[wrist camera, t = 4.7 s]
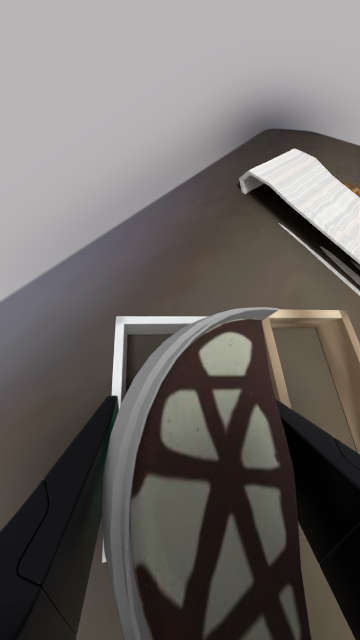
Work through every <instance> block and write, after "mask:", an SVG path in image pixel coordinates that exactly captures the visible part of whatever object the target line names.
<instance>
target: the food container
mask: <svg viewBox="0 0 360 640" xmlns="http://www.w3.org/2000/svg"><path fill="white" fill-rule="evenodd" d="M278 310H279V309H278V308H266V307H260V308H241V309H232V310H229V311H225V312H222V313H218V314H215V315H212V316H209V317H206V318H203V319H200V320H198V321H196V322H194V323H192V324H190V325H187V326H185V327H183V328H182V329H180V330H179V331H178V332H176V333H175V334H173V335H172V336H171V337H169V338H168V339H166V340H165V341H164V342H163V343H162V344H161V345H160V346H159V347H158V348H157V349H156V350H155V351H154V352H153V353H152V355H151V356H150V357H149V358H148V359H147V361H146V362H145V364H144V365H143V366H142V368H141V369H140V371H139V372H138V373H137V375H136V376H135V378H134V380H133V382H132V384H131V386H130V388H129V389H128V391H127V393H126V395H125V397H124V399H123V401H122V403H121V406H120V409H119V412H118V415H117V418H116V421H115V423H114V426H113V429H112V432H111V436H110V441H109V446H108V451H107V456H106V461H105V466H104V475H103V490H102V505H101V512H102V525H103V539H104V552H105V556H106V561H107V565H108V570H109V575H110V579H111V584H112V588H113V593H114V597H115V601H116V605H117V609H118V613H119V618H120V622H121V626H122V630H123V634H124V638H125V640H311V635H310V629H309V622H308V615H307V608H306V601H305V594H304V587H303V580H302V573H301V563H300V547H299V530H298V514H297V500H296V490H295V479H294V471H293V465H292V461H291V457H290V453H289V448H288V444H287V440H286V436H285V432H284V428H283V425H282V421H281V418H280V414H279V410H278V407H277V403H276V399H275V395H274V391H273V387H272V382H271V377H270V371H269V365H268V359H267V352H266V346H265V339H264V332H263V325H262V321H263V320H264V319H266V318H267V317H269V316H270V315H272V314H274V313H275V312H277V311H278Z"/></svg>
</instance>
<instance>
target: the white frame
mask: <svg viewBox="0 0 360 640" xmlns="http://www.w3.org/2000/svg"><path fill="white" fill-rule="evenodd" d="M203 318H206V317H119V316H116V329H115V346H114V363H113V381H112V396H115V395H116V396H118V404H119V409H120V406H121V403H122V401H123V399H124V397H125V395H126V370H127V340H128V335H133V334H175V333H176V332H178V331H179V330H180V329H182V328H183V327H185V326H187V325H190V324H192V323H194V322H196V321H198V320H200V319H203ZM103 562H107V561H106V556H105V552H104V539H103V553H102V563H103Z"/></svg>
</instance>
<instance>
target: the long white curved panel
mask: <svg viewBox="0 0 360 640" xmlns="http://www.w3.org/2000/svg"><path fill="white" fill-rule="evenodd" d="M239 179H240V185H241V191H242V192H243V193H244V194H246V193H248V192H249V191H251V190H253V189H255V188H257V187H259V186H261V185H262V184H264V183H265V184H267V185H268V186H270V187H271V188H272V189H273V190H274V191H275V192H276V193H277V194H278V195H279V196H280V197H281V198H282V199H283V200H285V201H286V202H287V203H288V204H289V205H290V206H291V207H292V208H294V209H295V210H296V211H297V212H298V213H299V214H301V215H302V216H303V217H304V218H305V219H307V220H308V221H309V222H310V223H311V224H313V225H314V226H315V227H316V228H317V229H318V230H320V231H321V232H322V233H323V234H324V235H326V236H327V237H328V238H329V239H330V240H332V241H333V242H334V243H335V244H336V245H338V246H339V247H340V248H341V249H342V250H344V251H345V252H346V253H347V254H348V255H350V256H351V257H352V258H353V259H354V260H356V261H357V262H358V263H359V264H360V197H358V196H357V195H356V194H354V193H353V192H352V191H351V190H349V189H348V188H347V187H346V186H344V185H343V184H342V183H341V182H340V181H338V180H337V179H336V178H335V177H333V176H332V175H331V174H330V173H329V172H328V171H327V170H326V168H325V167H324V166H323V165H322V164H321V163H320V162H319V161H318V160H317V159H316V158H314V157H312V156H310V155H308V154H306V153H303V152H301V151H299V150H297V149H292V150H291V151H289V152H287V153H285V154H283V155H280V156H278V157H276V158H274V159H272V160H270V161H268V162H266V163H264V164H261V165H259V166H257V167H255V168H253V169H251V170H249V171H247V172H246V173H245V174H244V175H243V176H242V177H240V178H239ZM280 225H281V224H280ZM281 226H282V227H283V228H284V229H285V230H286V231H288V232H289V233H290V234H291V235H292V236H293V237H295V238H296V239H297V240H298V241H299V242H300V243H301V244H303V245H304V246H305V247H306V248H307V249H308V250H309V251H310V252H312V253H313V254H314V255H315V256H316V257H317V258H318V259H319V260H320V261H322V262H323V263H324V264H325V265H326V266H327V267H328V268H329V269H330V270H332V271H333V272H334V273H335V274H336V275H337V276H338V277H339V278H340V279H342V280H343V281H344V282H345V283H346V284H347V285H348V286H349V287H350V288H352V289H353V290H354V291H355V292H356V293H357V294H358V295H359V296H360V291H359V290H358V289H357V288H356V287H355V286H353V285H352V284H351V283H350V282H349V281H348V280H347V279H345V278H344V277H343V276H342V275H341V274H340V273H339V272H337V271H336V270H335V269H334V268H333V267H332V266H331V265H329V264H328V263H327V262H326V261H325V260H324V259H322V258H321V257H320V256H319V255H318V254H316V253H315V252H314V251H313V250H312V249H311V248H309V247H308V246H307V245H306V244H305V243H304V242H302V241H301V240H300V239H299V238H298V237H297V236H295V235H294V234H293V233H292V232H291V231H290V230H288V229H287V228H285V227H284V226H283V225H281ZM321 249H322V250H323V251H324V252H325V253H326V254H327V255H328V256H329V257H330V258H331V259H332V260H333V261H334V262H335V263H336V264H337V265H338V266H339V267H340V268H341V269H342V270H343V271H345V272H346V273H347V274H348V275H349V276H350V277H351V278H352V279H353V280H354V281H355V282H356V283H357V284H358V285H359V286H360V276H358V275H357V274H356V273H355V272H354V271H352V270H351V269H350V268H349V267H348V266H346V265H345V264H344V263H343V262H341V261H340V260H339V259H338V258H337V257H335V256H334V255H333V254H332V253H331V252H329V251H328V250H326V249H324V248H323V247H321ZM350 261H351V260H350ZM351 262H352V261H351ZM352 263H353V264H354V265H355V266H356V267H357V268H358V269H359V270H360V266H358V265H357V264H355V263H354V262H352Z"/></svg>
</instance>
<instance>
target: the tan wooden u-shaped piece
mask: <svg viewBox="0 0 360 640" xmlns="http://www.w3.org/2000/svg"><path fill="white" fill-rule="evenodd" d="M262 325H263V332H264V339H265V346H266V352H267V359H268V365H269V371H270V377H271V382H272V387H273V391H274V395H275V399H277V400H278V401H280V402H281V403H283V404H284V405H286V406H287V407H289V408H290V409H291V405H290V401H289V397H288V393H287V389H286V385H285V381H284V376H283V372H282V368H281V364H280V360H279V356H278V352H277V348H276V344H275V340H274V336H273V332H272V328H299V327H316V329H317V332H318V335H319V338H320V341H321V344H322V347H323V350H324V353H325V356H326V359H327V362H328V365H329V368H330V371H331V374H332V377H333V380H334V383H335V386H336V389H337V392H338V395H339V398H340V401H341V404H342V407H343V410H344V413H345V416H346V419H347V422H348V425H349V428H350V431H351V434H352V437H353V440H354V443H355V446H356V449H357V452H358V453H359V454H360V344H359V342H358V339H357V337H356V334H355V332H354V329H353V327H352V325H351V322H350V320H349V317H348V315H347V312H346V310H278V311H277V312H275V313H274V314H272V315H270V316H269V317H267V318H266V319H264V320H263V321H262Z"/></svg>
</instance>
